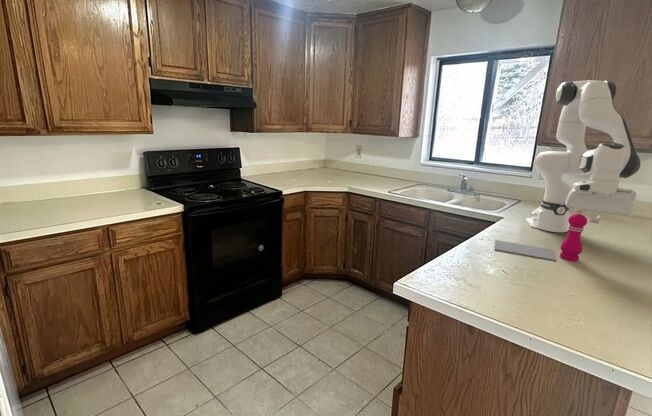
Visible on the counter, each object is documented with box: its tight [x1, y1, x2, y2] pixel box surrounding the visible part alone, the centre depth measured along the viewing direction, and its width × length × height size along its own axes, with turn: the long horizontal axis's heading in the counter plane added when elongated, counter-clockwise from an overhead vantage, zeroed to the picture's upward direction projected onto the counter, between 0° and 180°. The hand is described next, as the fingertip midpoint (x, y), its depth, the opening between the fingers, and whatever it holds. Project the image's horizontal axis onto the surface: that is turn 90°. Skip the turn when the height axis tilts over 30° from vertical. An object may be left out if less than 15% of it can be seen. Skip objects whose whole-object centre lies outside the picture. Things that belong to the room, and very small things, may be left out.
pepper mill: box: [559, 209, 588, 263], centre depth 138 cm, size 7×7×20 cm
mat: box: [494, 239, 557, 262], centre depth 147 cm, size 22×13×1 cm, turn 64°
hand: (593, 222), depth 134 cm, fingers closed
